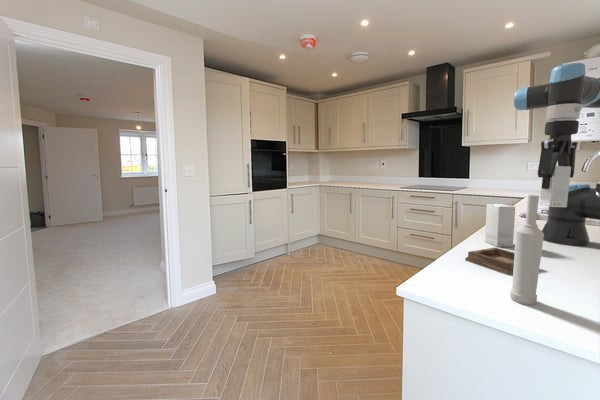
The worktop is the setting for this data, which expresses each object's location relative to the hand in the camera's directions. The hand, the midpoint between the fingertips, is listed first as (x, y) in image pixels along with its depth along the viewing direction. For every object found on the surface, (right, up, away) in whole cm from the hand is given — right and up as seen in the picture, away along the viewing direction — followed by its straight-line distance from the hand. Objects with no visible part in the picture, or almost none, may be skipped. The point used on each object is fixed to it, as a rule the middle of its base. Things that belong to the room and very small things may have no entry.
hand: (553, 199), depth 93 cm
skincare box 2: (0, -2, 0) cm, 2 cm away
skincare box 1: (+1, -18, +28) cm, 34 cm away
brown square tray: (-13, -21, +5) cm, 25 cm away
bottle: (-23, -24, -20) cm, 39 cm away
